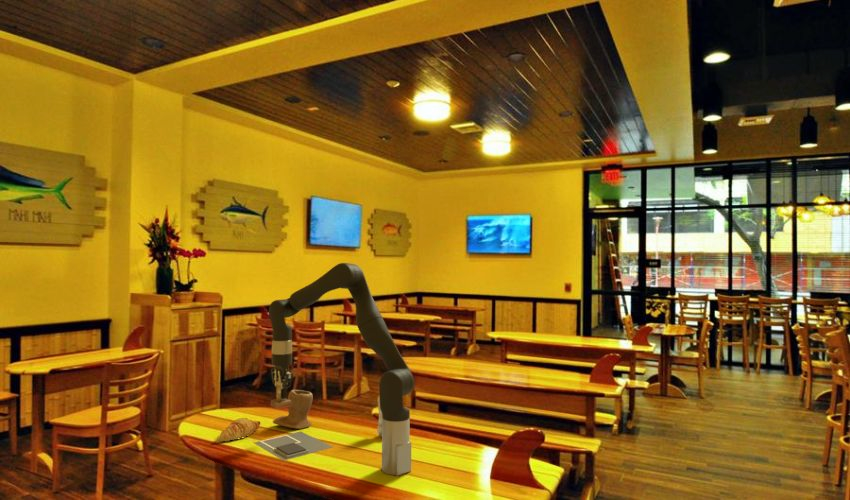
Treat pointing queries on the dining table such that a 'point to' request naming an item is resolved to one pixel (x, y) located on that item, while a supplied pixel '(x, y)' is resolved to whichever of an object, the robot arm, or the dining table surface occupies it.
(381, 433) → the plastic bottle
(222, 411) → the dining table surface
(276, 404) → the stamp
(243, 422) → the croissant
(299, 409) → the tan boot
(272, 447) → the desk board
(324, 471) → the dining table surface
